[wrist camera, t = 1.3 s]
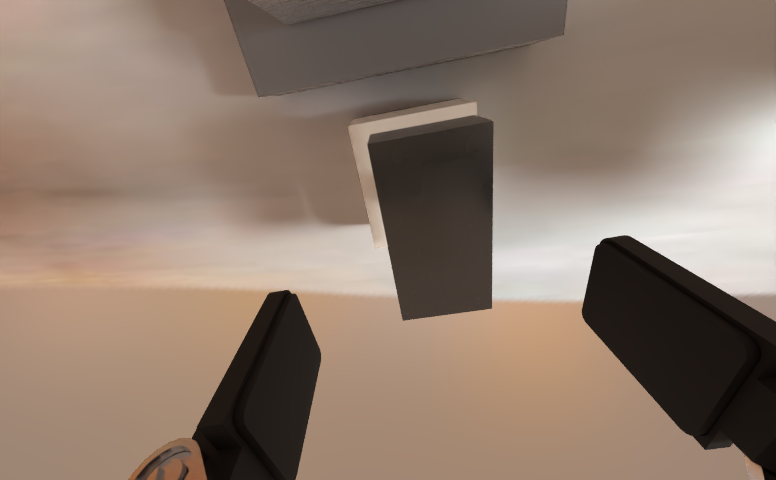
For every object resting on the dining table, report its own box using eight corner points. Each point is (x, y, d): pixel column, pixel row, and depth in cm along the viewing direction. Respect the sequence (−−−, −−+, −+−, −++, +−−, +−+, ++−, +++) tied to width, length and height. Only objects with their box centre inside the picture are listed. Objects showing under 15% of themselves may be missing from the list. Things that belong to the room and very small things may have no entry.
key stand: (459, 98, 21) (476, 101, 17) (464, 209, 25) (479, 232, 21) (354, 118, 21) (347, 126, 17) (377, 223, 26) (375, 248, 22)
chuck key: (438, 103, 20) (493, 120, 10) (447, 217, 24) (491, 308, 14) (375, 115, 20) (367, 144, 10) (395, 225, 25) (402, 320, 15)
